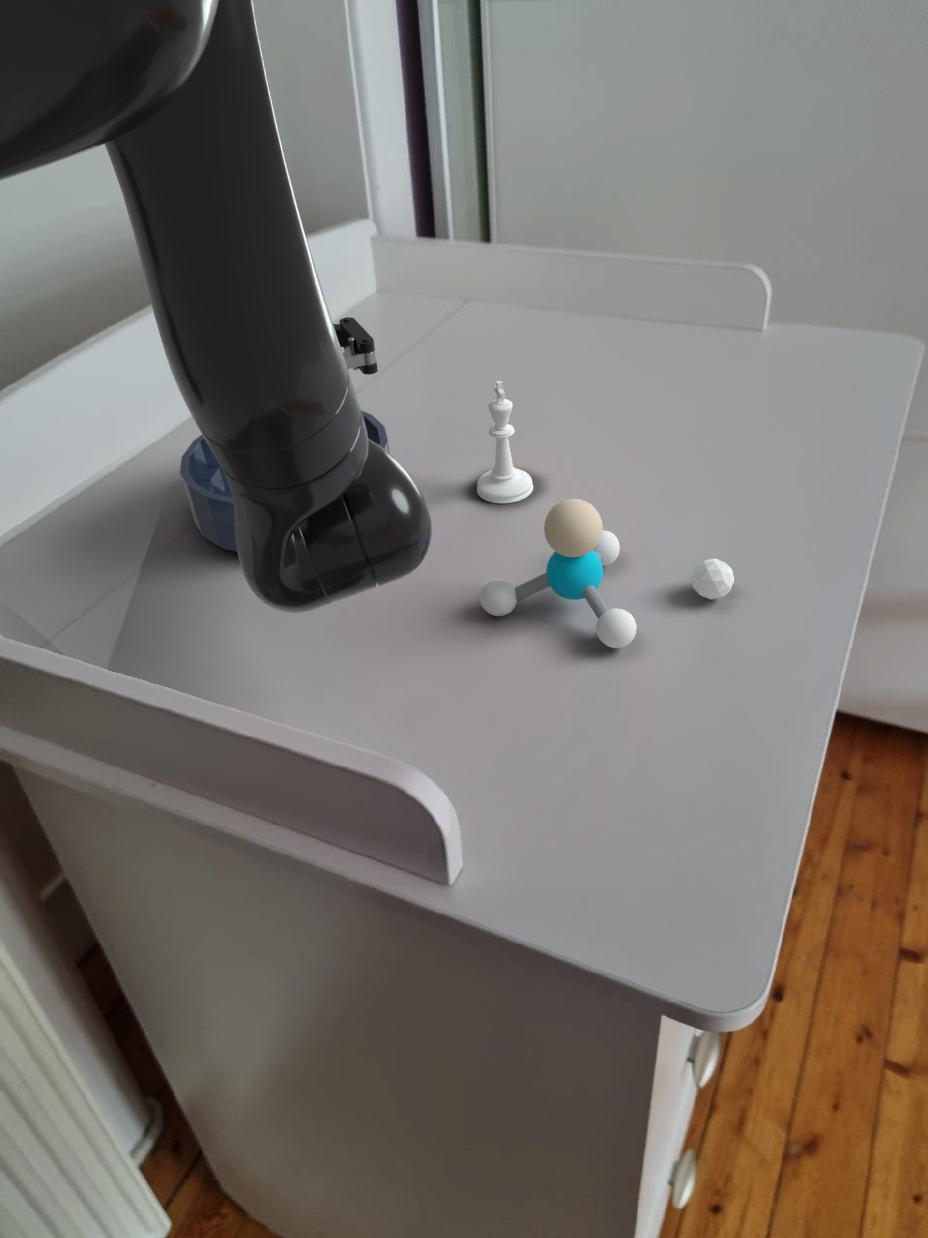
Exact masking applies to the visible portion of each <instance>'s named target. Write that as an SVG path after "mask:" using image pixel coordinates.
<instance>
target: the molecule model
mask: <svg viewBox="0 0 928 1238" xmlns="http://www.w3.org/2000/svg"><path fill="white" fill-rule="evenodd" d="M603 525H604V524H603V520H602V517H601V515H600V513H599V511H598V510H597V509H596V508H595V506H593V505H592V504H591V503H589V502H588V501H586V500H583V499H580V498H567V499H564V500H561V501H560V502H558V503H556V504H555V505H553V506H552V508H551V509H550V510H549V511H548V513H547V515H546V517H545V520H544V525H543V531H544V537H545V539H546V542H547V544H548V545H549V547H550V548H551V549H552V550H553V551H554V552H553V553H552V554H551V556H550V557H549V559H548V562H547V563H546V572H544V573H542V574H540V575H538V576H536V577H534V578H531V579H530V580H528V581H525V582H524V583H521V584H519V585H517V586H515V585H514V584H512V583H511V582H510V581H509V580H507V579H504V578H494V579H493V578H492V579H491V580H489V581H487V582H486V583H485V584H483V587H482V588H481V591H480V594H479V601H480V605H481V607H482V608H483V610H484V611H485V612H486V613H488V614H490V615H491V616H494V617H504V616H506V615H508V614H511V612H512V611H514V609H515V608H516V606H517V603H519V602H520V601H522V600H525V599H526V598H528V597H530V596H532V595H535V594H537V593H538V592H541V591H544V590H545V589H547V588H549V587H550V589H552V591H553V592H554V593H555V594H556V595H558V596H560V597H561V598H563V599H566V600H570V601H571V600H572V601H578V600H583V599H585V601H586V602H587V604H588V605H589V607H590V609H591V610H592V611H593V613H594V615H595V617H596V618H597V622H596V628H595V629H596V634H597V637H598V639H599V641H600V642H601V643H602V644H604V645H605V646H606V647H609V648H613V649H620V648H624V647H626V646H628V645H629V644H631V642H633V640H634V639H635V637H636V634H637V622H636V620H635V618H634V616H633V615H632V614H631V613H630V612H629V611H628V610H625V609H622V608H619V607H618V608H617V607H615V608H609V607H608V605H607V603H606V602H605V601H604V599H603V597H602V596H601V595H600V593H599V592H598V590H597V589H598V588H599V587H600V585H601V583H602V580H603V574H604V567H605V566H609V565H611V564H612V563H614V562H615V561H616V559H617V558H618V556H619V554H620V550H621V545H620V542H619V539H618V537H617V536H616V535H615V534H614V533H613V532H611V531H609V530H604V527H603Z"/></svg>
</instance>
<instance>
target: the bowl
mask: <svg viewBox="0 0 928 1238" xmlns="http://www.w3.org/2000/svg"><path fill="white" fill-rule="evenodd" d="M361 412H362V415H363V418H364V422H365V425H366V429H367V435H368V439H370V440H371V441H373V442H375V443H376V444H378V445H379V446H381V447H382V448H384V449H385V450H386V451H387V452H388V453H389V454H391V451H390V445H389V444H390V443H389V439H388V434H387V429H386V427H385V425H384V424H382V422H380V420H378V419H377V418H376V417H375V416H374V415H373V414H371V413H369V412H367V411H365V410H362V409H361ZM179 467H180V469H179V476H180V479H181V482H182V486H183V488H184V492H185V495H186V499H187V502H188V506H189V509H190V513H191V516H192V519H193V522H194V524H195V525H196V528H197V529H198V531H199V533H200V534H201V537H203V538H205V539H206V540H208V541H209V542H211V543H212V544H213V545H216V546H217V547H219V548H221V549H223V550H227V551H231V552H235V553H238V552H237V547H236V540H235V528H234V508H233V499H232V494H231V490H230V487H229V484H228V482H227V479H226V477H225V474H224V472H223V470H222V469H221V467H220V465H219V463H218V461H217V460H216V458H215V456H214V454H213V453H212V451H211V449H210V447H209V446H208V444H207V442H206V440H205V439H204V437H203V435H202V434H200V435H199V436H197V437H196V438H195V439H194V440H193V441H192V442H191V443H190V444H189V446H188V448H186V450H185V451H184V453H183V454H182V456H181V460H180V466H179Z"/></svg>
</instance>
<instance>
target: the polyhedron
mask: <svg viewBox="0 0 928 1238" xmlns="http://www.w3.org/2000/svg"><path fill="white" fill-rule="evenodd" d="M690 578H691V583H692V589H693V590H695V592H696V593H697V594H698V595H699V596H700V597H703V598H706V599H708V600H715V599H720V598H723V597H724V596H726V595H727V594H729V592H731V590H732V587H733V585H734V583H735V577H734V571H733V568H731V567H730V566H729V565H728V564H727V563H726V562H725V561H722V560H720V559H718V558H715V557H713V558H709V559H706V560H702V562H700V563H699V564H696V565H695V567H694V569H693V571H692V574H691V577H690Z"/></svg>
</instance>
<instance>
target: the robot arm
mask: <svg viewBox="0 0 928 1238" xmlns="http://www.w3.org/2000/svg"><path fill="white" fill-rule="evenodd" d="M256 17H257V16H256V11H255V3H254V0H0V182H1V181H3V180H7V179H10V178H13V177H17V176H19V175H22V174H25V173H28V172H30V171H35V170H38V169H40V168H41V169H42V168H44V167H47V166H49V165H52V164H55V163H58V162H60V161H64V160H67V159H69V158H72V157H74V156H76V155H77V156H78V155H80V154H82V153H85V152H88V151H90V150H93V149H95V148H98V147H101V146H103V145H104V147H105V150H106V152H107V154H108V157H109V159H110V162H111V165H112V167H113V171H114V173H115V176H116V180H117V182H118V185H119V187H120V190H121V194H122V197H123V200H124V204H125V209H126V211H127V214H128V218H129V221H130V225H131V229H132V232H133V235H134V240H135V244H136V248H137V251H138V257H139V261H140V264H141V269H142V272H143V277H144V280H145V284H146V288H147V292H148V296H149V300H150V304H151V308H152V312H153V316H154V319H155V322H156V326H157V329H158V334H159V337H160V340H161V344H162V347H163V350H164V353H165V357H166V360H167V362H168V366H169V368H170V371H171V375H172V377H173V378H174V381H175V384H176V386H177V389H178V391H179V393H180V395H181V397H182V399H183V401H184V404H185V406H186V407H187V410H188V411H189V413H190V415H191V417H192V419H193V421H194V422H195V424H196V426H197V428H198V430H199V431H200V433H201V435H203V437H204V439H205V440H206V442H207V444H208V446H209V447H210V449H211V451H212V453H213V454H214V456H215V458H216V460H217V461H218V463H219V465H220V467H221V469H222V470H223V472H224V474H225V477H226V479H227V482H228V484H229V487H230V490H231V494H232V499H233V508H234V528H235V540H236V547H237V552H236V553H237V557H238V558H237V559H238V562H239V565H240V569H241V572H242V574H243V577H244V579H245V581H246V583H247V585H248V587H249V589H250V590H251V591H252V593H253V594H254V595H255V596H256V597H257V599H259V600H260V601H261V602H262V603H263V604H265V605H267V606H268V607H269V608H272V609H275V610H277V611H280V612H282V613H283V612H284V613H288V614H289V613H291V614H300V613H305V612H310V611H313V610H316V609H319V608H322V607H324V606H327V605H331V604H332V603H335V602H338V601H341V600H344V599H346V598H349V597H353V596H355V595H358V594H360V593H363V592H366V591H370V590H372V589H375V588H376V587H377V586H379V587H381V586H384V585H386V584H389V583H392V582H395V581H398V580H400V579H402V578H405V577H406V576H408V575H411V573H413V572H414V571H415V570H416V569H418V568H419V566H420V565H421V564H422V563H423V561H424V559H425V558H426V556H427V555H428V552H429V549H430V545H431V542H432V534H433V533H432V532H433V526H432V525H433V524H432V518H431V513H430V510H429V506H428V503H427V502H426V501H427V500H426V499H425V496H424V495H423V493H422V491H421V489H420V487H419V485H418V484H417V482H416V481H415V479H414V478H413V477H412V475H411V474H410V473H409V471H408V470H407V468H405V467H404V466H403V465H402V463H401V462H400V461H399V460H398V459H397V458H396V457H394V455H392V454H391V453H390V454H389V453H388V452H387V451H386V450H385V449H384V448H382V447H381V446H379V445H378V444H376V443H375V442H373V441H371V440H370V439H368V435H367V429H366V425H365V422H364V418H363V415H362V412H361V410H362V409H361V406H360V403H359V400H358V396H357V394H356V391H355V388H354V384H353V381H352V378H351V375H350V371H349V370H351V369H352V370H354V371H357V370H359V371H360V372H361V373H362V374H363V375H375V374H376V373H378V372H379V368H378V367H379V366H378V361H377V354H376V347H375V339H374V338H373V337H372V336H371V335H370V333H368V332H367V330H366V329H365V328H364V327H363V326H362V325H361V324H360V323H359V322H358V321H357V320H356V318H354V317H349V316H347V317H343V318H341V319H339V323H333V320H332V316H331V314H330V310H329V307H328V304H327V301H326V298H325V295H324V291H323V288H322V284H321V281H320V277H319V275H318V271H317V269H316V265H315V262H314V258H313V254H312V251H311V248H310V245H309V241H308V238H307V234H306V231H305V228H304V225H303V221H302V217H301V213H300V210H299V209H300V208H299V206H298V202H297V199H296V196H295V195H296V194H295V191H294V188H293V185H292V184H293V183H292V180H291V177H290V173H289V172H290V171H289V169H288V165H287V161H286V158H285V154H284V149H283V145H282V141H281V136H280V132H279V128H278V123H277V119H276V114H275V108H274V104H273V100H272V96H271V95H272V94H271V90H270V86H269V81H268V75H267V71H266V65H265V60H264V55H263V49H262V45H261V39H260V34H259V29H258V23H257V18H256ZM342 348H343V350H342Z"/></svg>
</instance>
